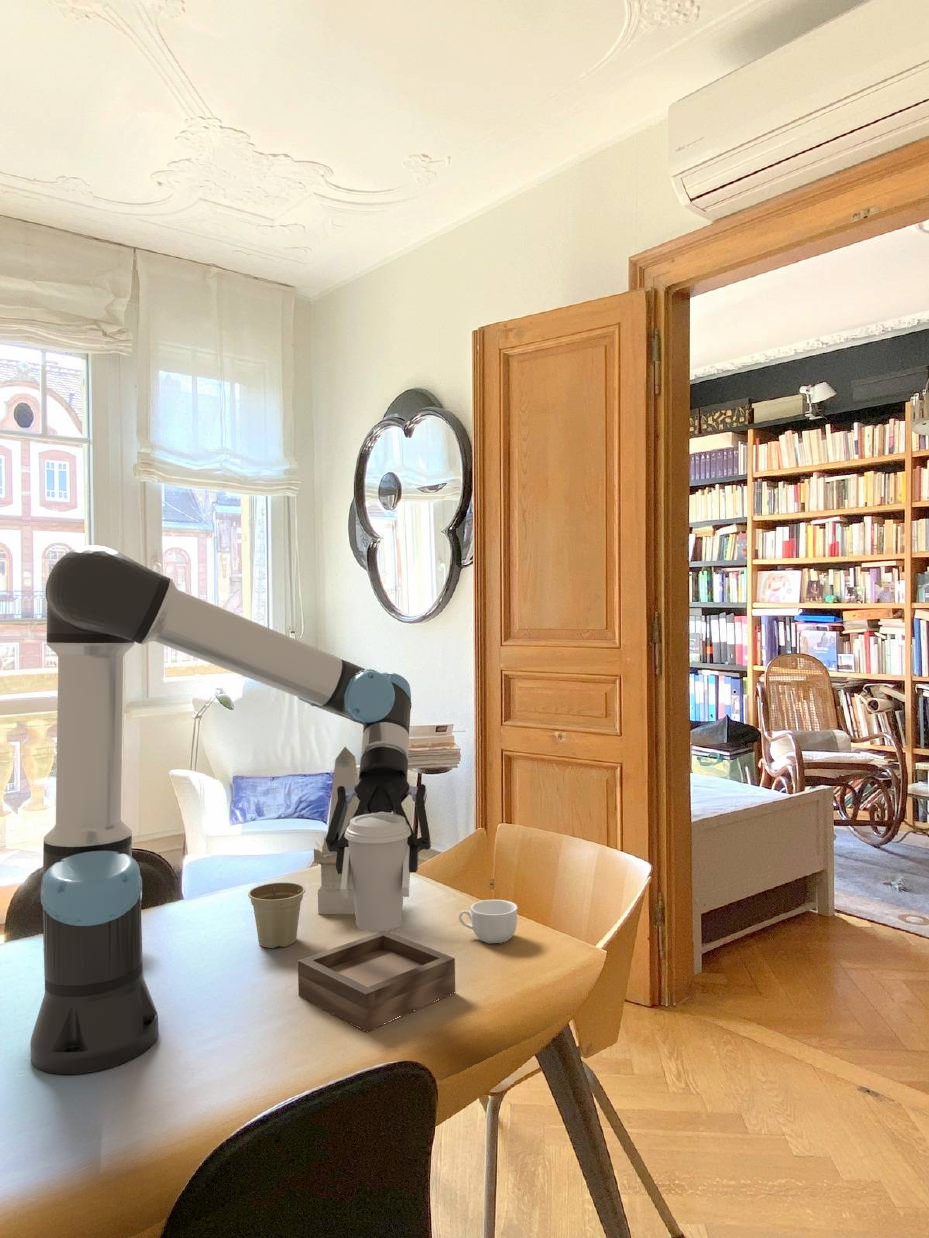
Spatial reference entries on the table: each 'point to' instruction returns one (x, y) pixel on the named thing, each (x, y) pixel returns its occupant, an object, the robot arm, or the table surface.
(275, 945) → the flower pot
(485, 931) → the teacup
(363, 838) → the coffee cup
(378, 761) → the robot arm
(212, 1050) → the table surface
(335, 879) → the miniature monument
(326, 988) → the walnut stand
